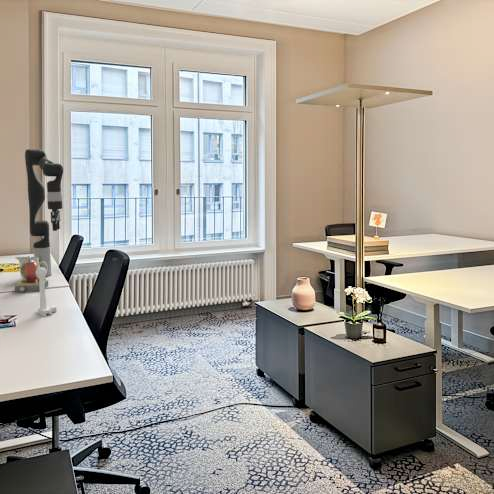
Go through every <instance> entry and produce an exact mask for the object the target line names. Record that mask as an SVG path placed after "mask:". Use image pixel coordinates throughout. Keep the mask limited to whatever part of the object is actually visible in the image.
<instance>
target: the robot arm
mask: <svg viewBox="0 0 494 494" xmlns="http://www.w3.org/2000/svg"><path fill="white" fill-rule="evenodd" d="M24 160H25V161H24V162H25V169H26V177H27V178H26V180H27V195H28V196H27V197H28V198H27V199H28V208H29V234H30V235H31V237H42V239H41V240H38V241H34V243H33V244H32V245H33V257H39V262H42V261H44V262H46V264H47V266H48V271H47V274H46V276H45V277H49V276H52V259H51V257H52V256H51V244H50V224H51V225H52V231H53V232H57V231H58V230H60V229H61V227H60V226H61V225H60V223H61V210H63V195H62V188H61V187H62V178H63V174H64V167H63V165H62V164H61V163H56V162H54V161H53V160H51V159H50V158H49V157H48V155H47V153H46V152H45V151H44V150H43V149H36V148H35V149H26V150H25V151H24ZM34 166H39V168H40V169H41V170H42V173H43V175H44V176H45V177H54V179H52V180H49V181H47V182H46V190H47V191H45V186H44V184H42V182H41V180H40V179H39V178H38V176H37V174H36V173H35V169H34ZM46 192H47V193H46ZM46 194H47V195H46ZM46 198H47V200H46V201H47V203H46V204H47V209H48V210H51V211H50V222H49V221H48V220H36V217H37V215H38V212H39V210H40V208H41V207H42V205H43V204H44V202H45V199H46ZM40 267H43V268H45V269H46V267H45V265H44V264H40Z"/></svg>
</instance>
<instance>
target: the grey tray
mask: <svg viewBox="0 0 494 494" xmlns="http://www.w3.org/2000/svg"><path fill="white" fill-rule="evenodd" d="M44 284H45V290H46V289H47V288H48V287H49V280H47V278H44ZM14 292H15V293H25V292H40V287H39V278H38V283H26V279H24V280H23V279H21V280H20V281H19V282H17V283H16V285H15V286H14Z"/></svg>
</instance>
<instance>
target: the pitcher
mask: <svg viewBox="0 0 494 494" xmlns="http://www.w3.org/2000/svg"><path fill="white" fill-rule="evenodd" d="M14 259H16V260H18V263H19V273H20V276H21V278H22V279H21V280H24V279H26V274H25V263H26V261H28V256H15V257H14ZM30 260H34V262H36V267H37V269H38V268H40V264H44V265H45V267H46V271H48V266H47V264H46V262H44V261H42V262H39V257H34V256H30ZM37 279H39V277H38V276H37Z"/></svg>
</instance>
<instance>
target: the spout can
mask: <svg viewBox="0 0 494 494" xmlns="http://www.w3.org/2000/svg"><path fill="white" fill-rule="evenodd" d="M27 257H28V261H26V263H25V274H26V283H38V279H39V278H38V279H37V275H36V270H37V267H36V262H34V260H30V257H31V256H30V255H28V256H27Z"/></svg>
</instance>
